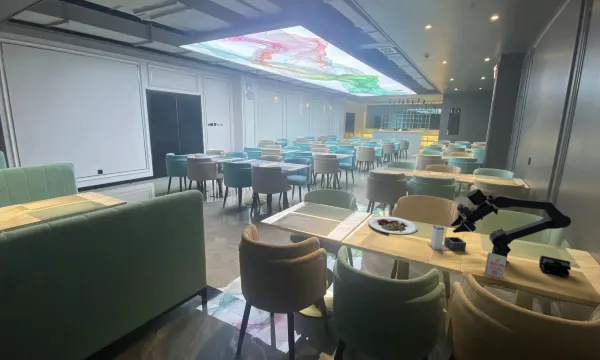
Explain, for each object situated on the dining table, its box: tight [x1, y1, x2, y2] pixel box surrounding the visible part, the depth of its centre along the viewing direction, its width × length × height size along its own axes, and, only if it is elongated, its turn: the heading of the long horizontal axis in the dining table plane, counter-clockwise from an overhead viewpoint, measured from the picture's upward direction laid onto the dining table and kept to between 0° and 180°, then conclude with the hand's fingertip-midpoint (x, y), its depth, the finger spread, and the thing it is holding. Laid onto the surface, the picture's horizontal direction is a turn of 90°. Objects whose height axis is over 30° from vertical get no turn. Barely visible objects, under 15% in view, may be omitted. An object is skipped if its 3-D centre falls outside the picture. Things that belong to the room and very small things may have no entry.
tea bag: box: [484, 252, 508, 280], centre depth 127 cm, size 4×7×10 cm, turn 53°
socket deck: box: [427, 236, 467, 252], centre depth 152 cm, size 8×17×6 cm, turn 90°
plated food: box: [368, 216, 418, 235], centre depth 182 cm, size 30×30×3 cm
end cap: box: [538, 255, 572, 280], centre depth 130 cm, size 10×7×7 cm
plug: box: [430, 224, 445, 250], centre depth 151 cm, size 4×4×12 cm
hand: (452, 228), depth 147 cm, fingers open, 9 cm apart
